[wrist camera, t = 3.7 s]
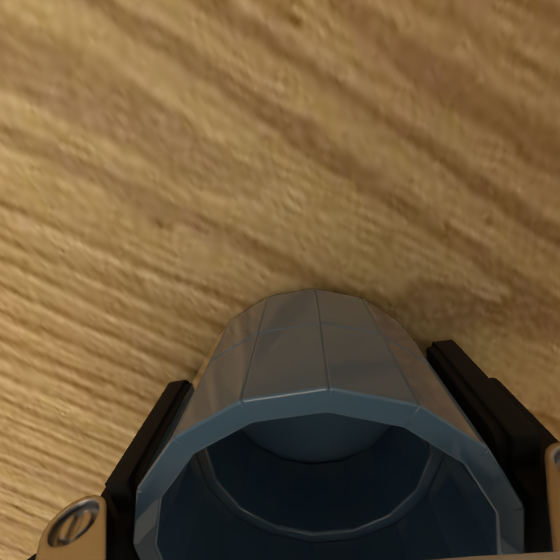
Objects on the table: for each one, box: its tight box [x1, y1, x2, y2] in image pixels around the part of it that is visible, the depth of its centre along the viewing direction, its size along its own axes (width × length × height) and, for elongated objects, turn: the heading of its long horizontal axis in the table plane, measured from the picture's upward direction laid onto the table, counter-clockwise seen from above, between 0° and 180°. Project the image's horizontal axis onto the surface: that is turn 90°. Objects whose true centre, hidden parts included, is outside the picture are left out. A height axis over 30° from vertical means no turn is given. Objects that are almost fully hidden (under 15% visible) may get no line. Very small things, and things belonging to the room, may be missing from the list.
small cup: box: [133, 289, 525, 560], centre depth 9 cm, size 7×7×6 cm
